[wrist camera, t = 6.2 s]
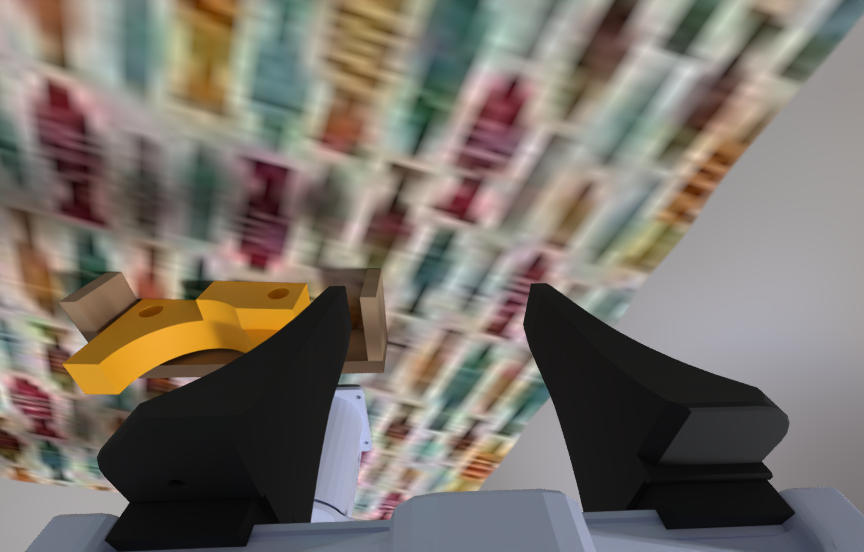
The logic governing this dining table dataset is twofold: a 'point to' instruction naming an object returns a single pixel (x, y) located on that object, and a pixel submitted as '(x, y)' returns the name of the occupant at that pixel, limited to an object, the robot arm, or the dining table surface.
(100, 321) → the bracket
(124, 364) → the pipe clamp
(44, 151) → the dining table surface
